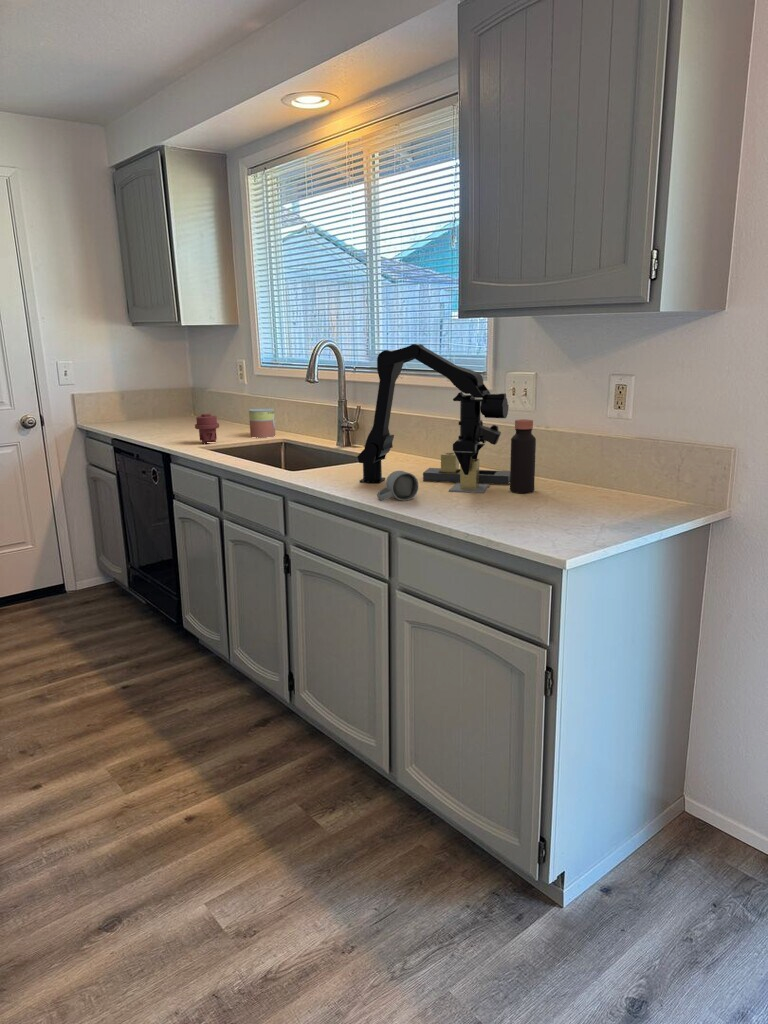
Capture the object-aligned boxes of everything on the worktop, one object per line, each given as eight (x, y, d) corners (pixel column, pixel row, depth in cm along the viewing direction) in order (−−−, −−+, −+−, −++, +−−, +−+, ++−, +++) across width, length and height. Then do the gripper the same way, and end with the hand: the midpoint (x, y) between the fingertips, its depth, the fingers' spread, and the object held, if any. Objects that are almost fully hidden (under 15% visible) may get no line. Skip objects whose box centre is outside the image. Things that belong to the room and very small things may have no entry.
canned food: (277, 437, 314) (275, 410, 311) (251, 438, 312) (249, 411, 309) (274, 434, 325) (272, 407, 322) (249, 435, 322) (247, 409, 319)
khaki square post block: (455, 481, 216) (455, 454, 214) (440, 480, 217) (440, 454, 215) (458, 478, 220) (458, 452, 218) (444, 477, 221) (444, 451, 219)
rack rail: (508, 484, 209) (508, 476, 209) (423, 480, 217) (423, 472, 216) (512, 479, 217) (512, 471, 216) (429, 475, 224) (429, 467, 224)
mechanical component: (198, 445, 295) (194, 442, 304) (222, 443, 299) (217, 440, 308) (196, 416, 292) (192, 413, 301) (220, 414, 296) (215, 412, 305)
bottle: (531, 494, 196) (533, 422, 191) (507, 492, 199) (508, 421, 194) (536, 489, 202) (539, 419, 197) (513, 487, 205) (515, 418, 200)
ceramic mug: (409, 493, 200) (408, 466, 198) (419, 499, 193) (418, 471, 191) (373, 497, 197) (372, 470, 195) (382, 503, 190) (381, 475, 188)
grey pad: (483, 493, 199) (483, 491, 199) (448, 491, 202) (448, 490, 202) (489, 485, 208) (489, 484, 208) (456, 484, 211) (456, 483, 211)
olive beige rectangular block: (476, 489, 202) (476, 461, 200) (460, 488, 203) (460, 460, 201) (478, 485, 206) (479, 458, 204) (463, 485, 208) (463, 457, 206)
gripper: (493, 421, 189) (492, 479, 193) (503, 414, 206) (502, 466, 210) (452, 421, 192) (452, 477, 196) (466, 413, 209) (465, 465, 213)
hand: (469, 471), depth 204 cm, fingers open, 9 cm apart
